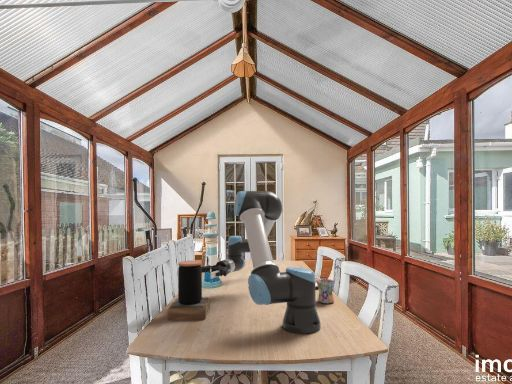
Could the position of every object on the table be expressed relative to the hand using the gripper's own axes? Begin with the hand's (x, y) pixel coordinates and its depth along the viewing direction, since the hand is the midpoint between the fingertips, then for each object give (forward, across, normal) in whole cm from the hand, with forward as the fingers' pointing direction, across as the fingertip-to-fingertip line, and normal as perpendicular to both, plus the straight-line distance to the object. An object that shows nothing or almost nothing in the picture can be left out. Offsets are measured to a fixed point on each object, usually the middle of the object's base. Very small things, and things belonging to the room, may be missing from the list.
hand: (199, 274), depth 156 cm
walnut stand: (+7, 0, -17) cm, 18 cm away
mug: (-41, -48, -17) cm, 66 cm away
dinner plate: (-68, -25, -17) cm, 75 cm away
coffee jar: (+6, 0, -12) cm, 13 cm away
